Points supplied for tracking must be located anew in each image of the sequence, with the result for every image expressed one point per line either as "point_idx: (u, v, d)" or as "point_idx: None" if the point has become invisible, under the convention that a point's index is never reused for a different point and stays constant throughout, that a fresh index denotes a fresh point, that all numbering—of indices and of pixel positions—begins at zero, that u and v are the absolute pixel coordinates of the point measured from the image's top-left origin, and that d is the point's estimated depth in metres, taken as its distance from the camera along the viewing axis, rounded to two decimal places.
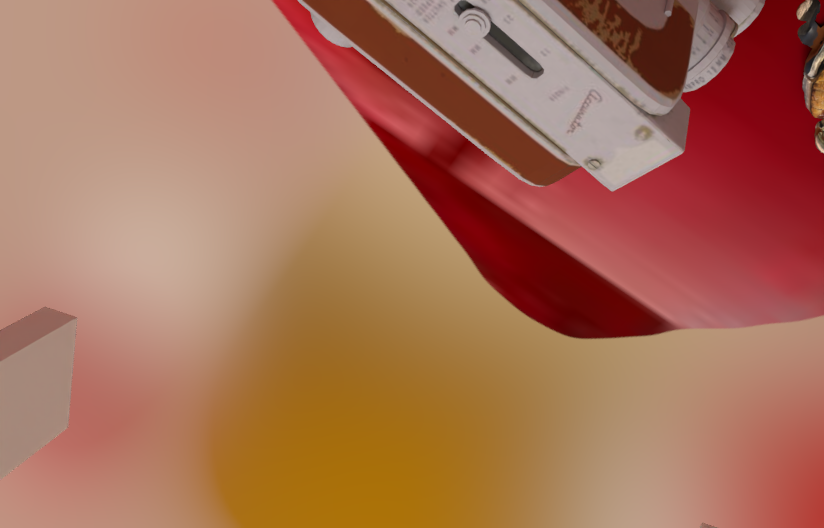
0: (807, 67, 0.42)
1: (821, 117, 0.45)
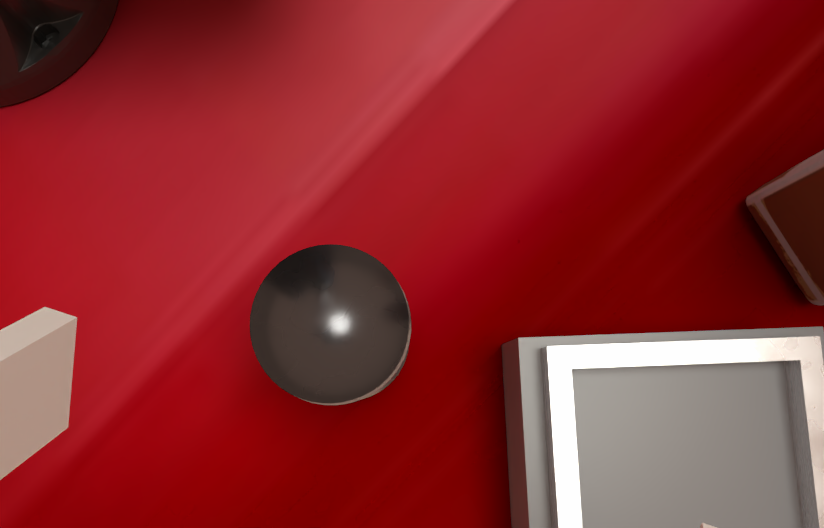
0: None
1: None
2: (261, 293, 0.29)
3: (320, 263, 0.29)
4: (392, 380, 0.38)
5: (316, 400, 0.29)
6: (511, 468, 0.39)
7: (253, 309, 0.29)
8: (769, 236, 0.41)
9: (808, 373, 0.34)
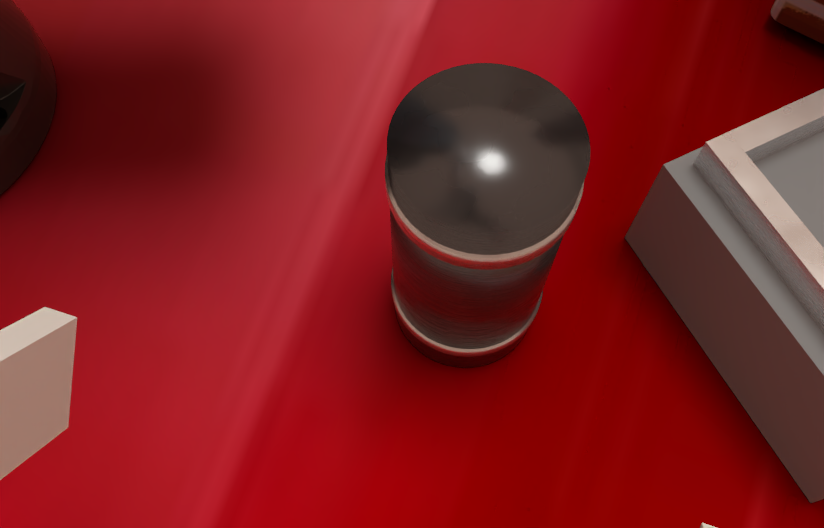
0: None
1: None
2: (392, 145, 0.23)
3: (443, 91, 0.24)
4: (540, 301, 0.31)
5: (521, 226, 0.22)
6: (717, 345, 0.32)
7: (392, 164, 0.23)
8: (816, 28, 0.38)
9: None
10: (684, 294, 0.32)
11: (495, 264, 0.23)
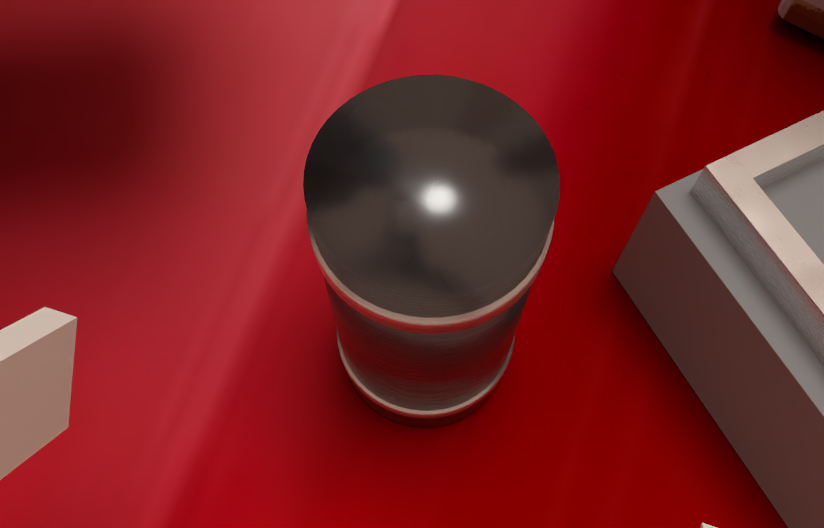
0: None
1: None
2: (310, 179, 0.18)
3: (377, 110, 0.19)
4: (511, 351, 0.26)
5: (470, 286, 0.17)
6: (720, 402, 0.27)
7: (309, 204, 0.18)
8: None
9: None
10: (681, 340, 0.27)
11: (442, 328, 0.19)
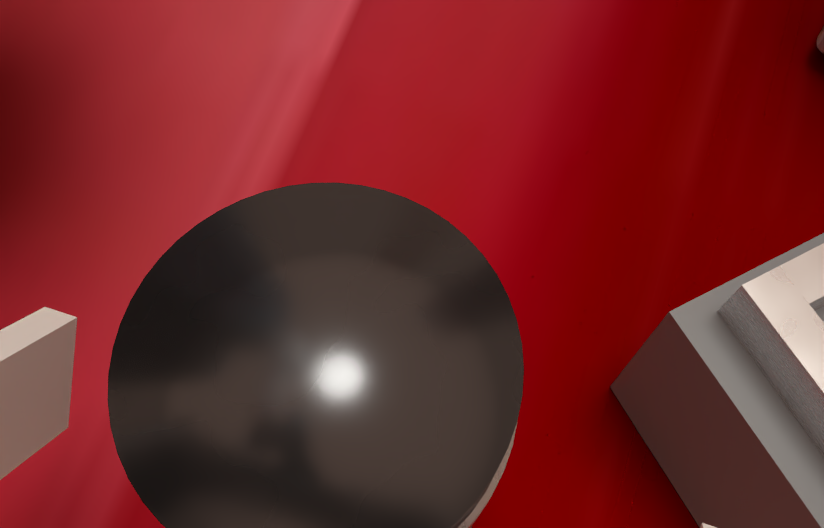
0: None
1: None
2: (121, 364, 0.11)
3: (240, 243, 0.12)
4: None
5: None
6: None
7: (114, 410, 0.11)
8: None
9: None
10: (702, 495, 0.21)
11: None
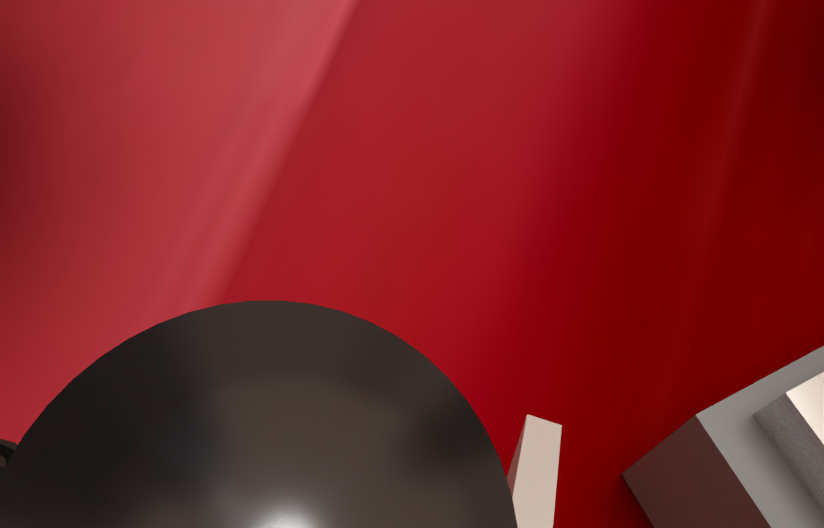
0: None
1: None
2: None
3: (153, 384, 0.09)
4: None
5: None
6: None
7: None
8: None
9: None
10: None
11: None
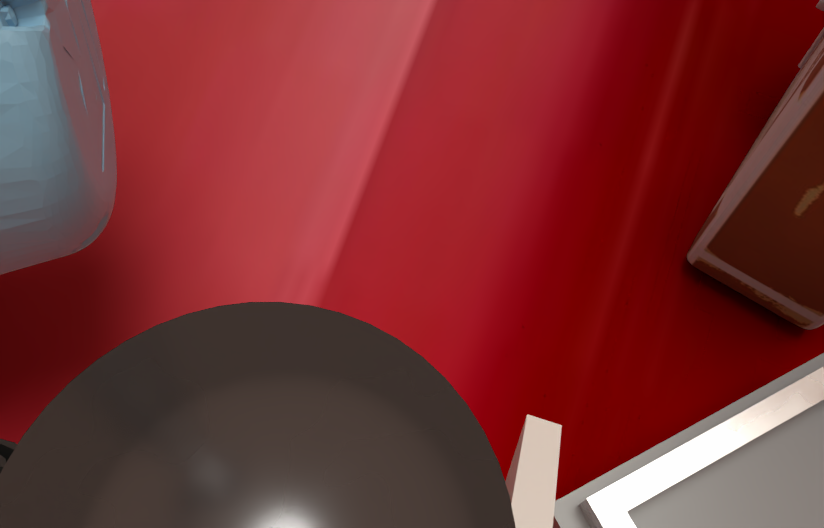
0: None
1: None
2: None
3: (151, 386, 0.09)
4: None
5: None
6: None
7: None
8: (730, 282, 0.37)
9: None
10: None
11: None
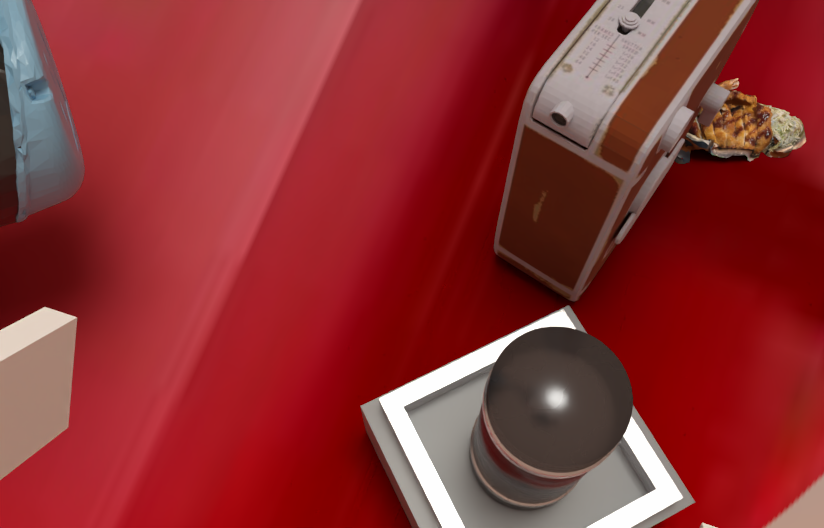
0: (701, 144, 0.57)
1: (752, 142, 0.58)
2: (492, 395, 0.32)
3: (526, 350, 0.33)
4: None
5: (586, 461, 0.31)
6: (409, 519, 0.46)
7: (493, 410, 0.32)
8: (520, 268, 0.53)
9: None
10: (391, 481, 0.47)
11: (564, 476, 0.33)
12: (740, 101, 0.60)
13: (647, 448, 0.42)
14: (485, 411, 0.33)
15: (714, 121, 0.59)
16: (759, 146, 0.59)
